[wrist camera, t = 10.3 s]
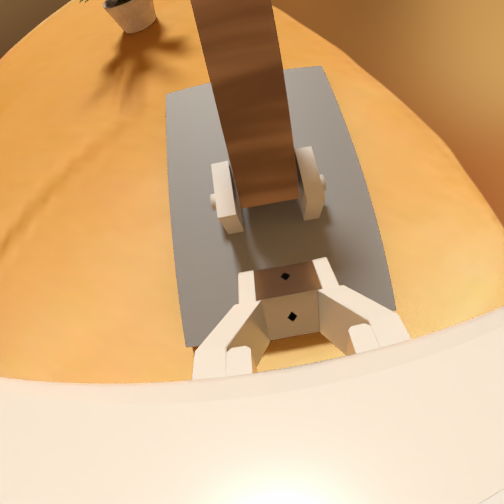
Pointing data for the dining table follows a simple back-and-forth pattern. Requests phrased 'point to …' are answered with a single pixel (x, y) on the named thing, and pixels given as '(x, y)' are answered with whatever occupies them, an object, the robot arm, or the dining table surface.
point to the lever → (250, 96)
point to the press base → (267, 205)
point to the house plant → (131, 13)
